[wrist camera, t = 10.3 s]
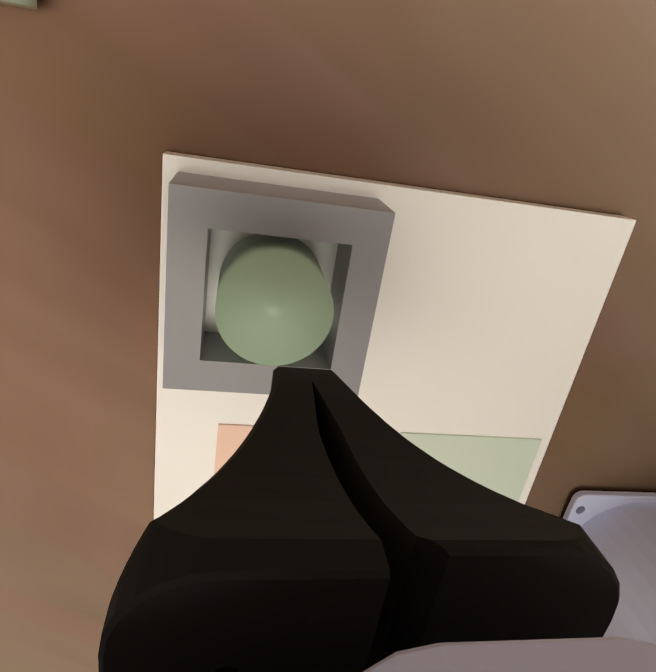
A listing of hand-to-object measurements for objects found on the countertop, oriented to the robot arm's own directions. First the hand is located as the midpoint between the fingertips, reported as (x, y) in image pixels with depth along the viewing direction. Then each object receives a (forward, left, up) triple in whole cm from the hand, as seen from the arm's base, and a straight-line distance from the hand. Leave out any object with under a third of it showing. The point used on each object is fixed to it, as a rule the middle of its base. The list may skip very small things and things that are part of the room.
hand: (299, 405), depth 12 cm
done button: (0, 0, -8) cm, 8 cm away
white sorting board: (-6, -5, -9) cm, 12 cm away
